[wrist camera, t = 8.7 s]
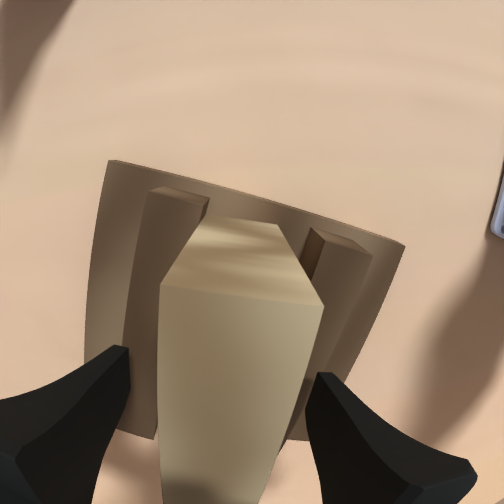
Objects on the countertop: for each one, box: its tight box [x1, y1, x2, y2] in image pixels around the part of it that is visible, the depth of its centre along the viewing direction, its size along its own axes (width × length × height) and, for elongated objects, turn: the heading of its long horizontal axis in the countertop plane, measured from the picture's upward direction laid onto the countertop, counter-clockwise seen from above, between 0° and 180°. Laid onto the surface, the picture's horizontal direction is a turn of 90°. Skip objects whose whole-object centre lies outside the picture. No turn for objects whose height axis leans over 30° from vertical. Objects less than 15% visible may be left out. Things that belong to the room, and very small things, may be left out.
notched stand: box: [84, 160, 405, 454], centre depth 14 cm, size 14×13×4 cm
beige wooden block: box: [157, 214, 324, 504], centre depth 11 cm, size 3×10×8 cm, turn 171°
